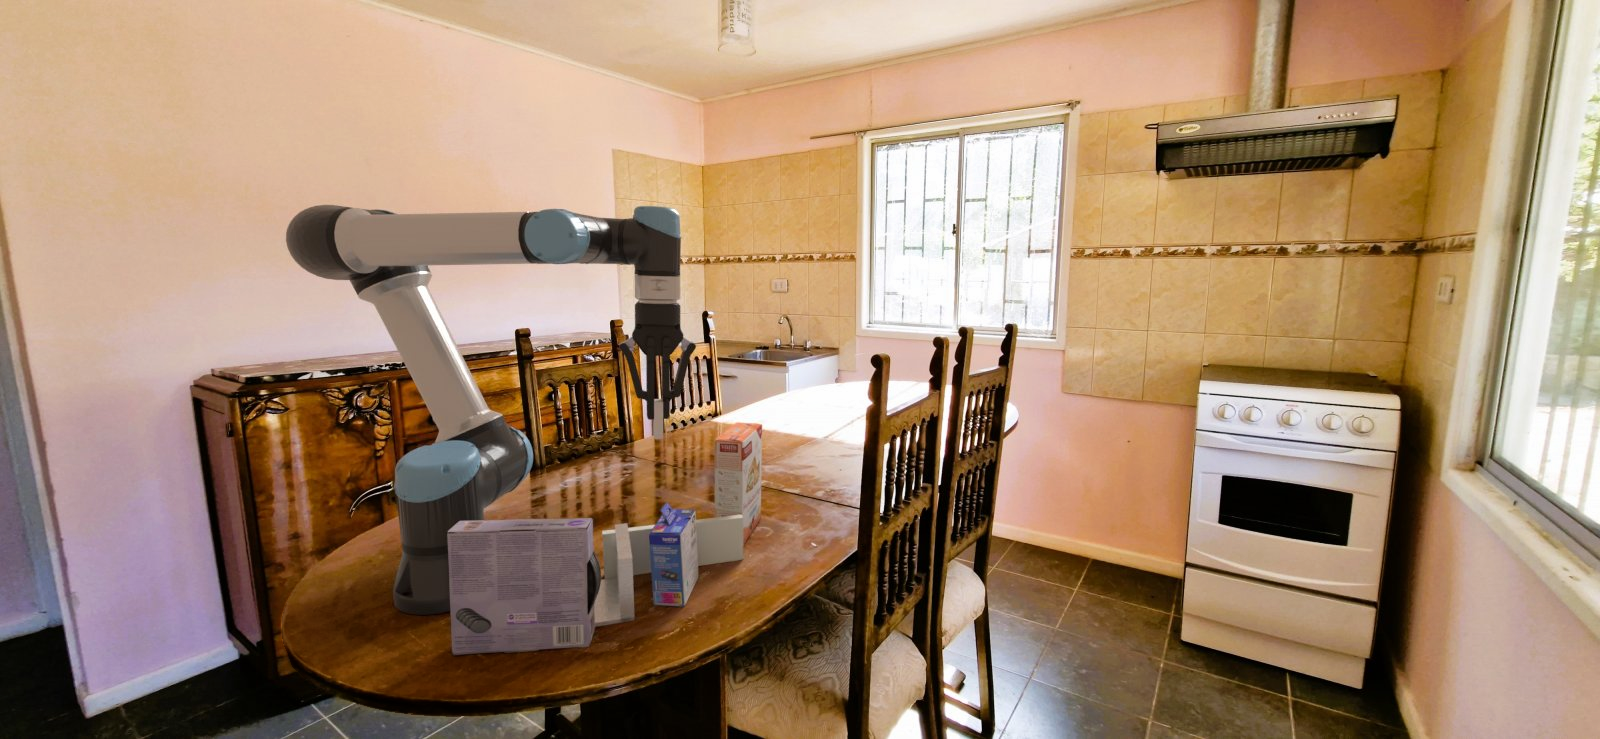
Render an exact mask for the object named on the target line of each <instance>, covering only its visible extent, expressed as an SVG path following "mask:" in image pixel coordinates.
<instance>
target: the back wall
mask: <svg viewBox="0 0 1600 739" xmlns="http://www.w3.org/2000/svg"><path fill="white" fill-rule="evenodd" d="M655 525H656V524H649V525H642V526H641V525H639V526H633V527H628V531H629V538H630V545H631V552H632V563H633V576H637V575H643V574H650V573H651V559H650V544H649V533H650V532H651V530H652V529H653V527H654V526H655ZM601 532H602V533H601V534H602V550H603V551H602V553H603V554H602V555H603V556H602V557H603V573H604V575H603V576H604V579H611V578H617V565H616V541H615V528H614V529H607V530H602V531H601ZM696 532H697V555H698V567H701V566H707V565H713V564H721V563H727V562H728V563H729V562H735V561H742V560H744V545H743V516H742V515H732V516H724V517H716V518H715V517H709V518H700V519H696ZM604 579H603V580H604Z"/></svg>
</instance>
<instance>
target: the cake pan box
mask: <svg viewBox="0 0 1600 739" xmlns="http://www.w3.org/2000/svg"><path fill="white" fill-rule="evenodd" d="M447 538H448V559H449V591H450V611H449V613H450V634H451V635H450V636H451V637H450V638H451V652H452V655H453V656H461V655H462V656H463V655H473V654H487V653H503V652H504V653H508V654H509V653H524V652H537V651H539V650H549V649H550V650H551V649H566V648H567V649H569V648H589V647H590V645H591V642H592V639H593V636H594V634H595V630H596V627H595V614H594V603H595V600H596V597H597V595H598V592H599V589H600V584H601V580H602V570H601V566H600V565H601V564H600V562H599V558H598V556H597V555H596V554H597V553H596V552H595V550H594V519H593V518H592V517H576V518H575V517H573V518H571V517H570V518H522V519H521V518H520V519H517V518H515V519H490V520H489V519H487V520H485V519H484V520H477V521H459V522H458V523H457V524H455V525H454V526H453V527H452V528H451V529H450V530H449V531H448V534H447Z"/></svg>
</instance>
